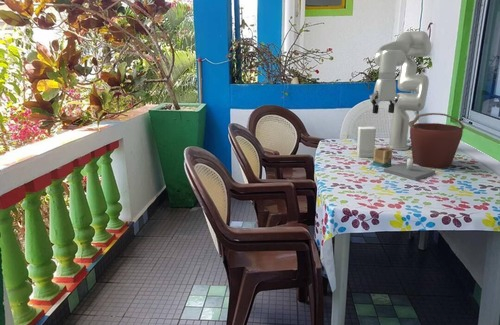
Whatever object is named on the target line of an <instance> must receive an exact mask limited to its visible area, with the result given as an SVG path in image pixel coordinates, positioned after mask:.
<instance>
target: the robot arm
mask: <svg viewBox="0 0 500 325" xmlns="http://www.w3.org/2000/svg"><path fill="white" fill-rule="evenodd" d="M431 52H432V43H431V40H430V37H429V34H428V33H427V32H426V31H422V30H418V31H417V30H415V31H413V30H412V31H405V32H402V33H401V34H399V35H398V37H397V39H396V40H395V41H394V40H393V41H391V42H389V43H386V44H383V45H381V46H380V47H379V49H377V50H376V53H375V55H374V63H375V65H376V66H378V67H379V69H378V78H377V79H376V82H375V85H374V89H373V93H372V94H369V99H370V102H371V104H372V114H375V115H376V114H379V108H380V107H379V106H380V105H379V104H380V102H388V103H389V104H388V114H389V113H390V114H391V120H390V122H391V123H390V132H389V141H388V142H389V143H388V144H386V145H385V148H387V149H392V151H393V150H395V151H408V150H409V149H410V146H409V145H408V144H411V139H408V138H409V137H408V135H409V129H410V126H409V124H408V123H409V122H410V116H409V114H408V113H407V111H410V112H420V111H421V112H422V111H423V110H424V108H425V106H426V101H427V95H428V90H429V86H430V85H429V82H430V81H429V80H430V79H429V76H427V74H418V73H417V68H418V65H417V63H416V62H415V60H414V59H413V58H415V57H416V58H420V57H421V58H425V57H428V56H429V55H430V54H431ZM397 67H400V70H399V74H398V79H397V80H396V78H397V74H396V73H397ZM396 81H397V82H396ZM397 89H398V90H399V91H401V92H398V93H397ZM410 92H412V93H410Z"/></svg>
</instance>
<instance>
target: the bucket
mask: <svg viewBox="0 0 500 325" xmlns="http://www.w3.org/2000/svg"><path fill="white" fill-rule="evenodd" d="M425 116H426V117H427V116H445V117H447V118H450V119H452V120H454V121H456V122H457V123H458V124H459V125H460V126H461V127H459V126H458V125H453V124H444V123H439V122H433V123H431V122H426V123H425V122H422V123H421V122H419V123H417V122H418V120H419V118H420V117H425ZM408 124H409V138H410V146H411V156H412V157H411V159H413V164H414V165H416V166H417V165H418V167H422V168H427V169H435V170H436V169H437V170H439V169H440V170H441V169H446V168H450V167H451V166H452V164H453V161H454V158H455V156H456V154H457V151H458V148H459V145H460V142H461V140H462V139H463V133H464V131H463V130H464V129H465V127H466V126H465V125H464V123H462V122H461V120H459V119H457V118H455V117H453V116H451V115H449V114H446V113H439V112H428V113H419V114H417V115H416V116H415V117H414V119H413V120H411V121H410V120H409V123H408Z"/></svg>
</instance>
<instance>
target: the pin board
mask: <svg viewBox="0 0 500 325" xmlns="http://www.w3.org/2000/svg"><path fill="white" fill-rule="evenodd" d="M406 160H407V161H406V163H405V162H401V163H399V164H398V163H397V164H396V165H391V166H388V167H384V168H383V169H382V172H383V173H386V174H390V175H394V176H397V177H400V178H401V177H402V178H406V179H409V180H412V181H418V180H421V179H423V178H426V177H430V176H432V175H435V174H436V169H435V170H434V169H432V168H428V167H421V166H419V165H418V166H417V165H415V164H414V163H413V158H412V157H411V158H407V159H406ZM413 164H414V165H413Z"/></svg>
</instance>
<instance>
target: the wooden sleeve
mask: <svg viewBox="0 0 500 325" xmlns="http://www.w3.org/2000/svg"><path fill="white" fill-rule="evenodd" d="M392 156H393V149H389V148H387V147H383V146H382V147H377V148H375V149H374V157H373V158H372V159H373V160H372V165H373V166H376V167H380V168H383V169H384V168H388V167H391V166H392Z"/></svg>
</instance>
